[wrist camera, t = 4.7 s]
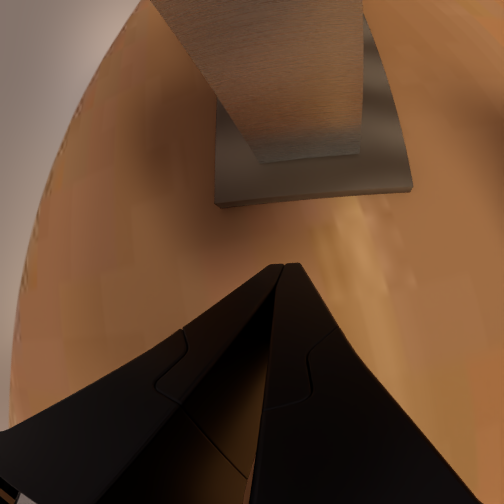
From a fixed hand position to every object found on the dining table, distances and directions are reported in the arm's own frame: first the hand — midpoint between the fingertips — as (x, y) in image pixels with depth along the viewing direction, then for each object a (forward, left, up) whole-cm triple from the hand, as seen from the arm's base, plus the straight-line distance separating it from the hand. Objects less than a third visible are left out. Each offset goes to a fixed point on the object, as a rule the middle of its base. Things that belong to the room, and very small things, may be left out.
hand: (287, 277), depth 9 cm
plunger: (+4, -14, -12) cm, 19 cm away
